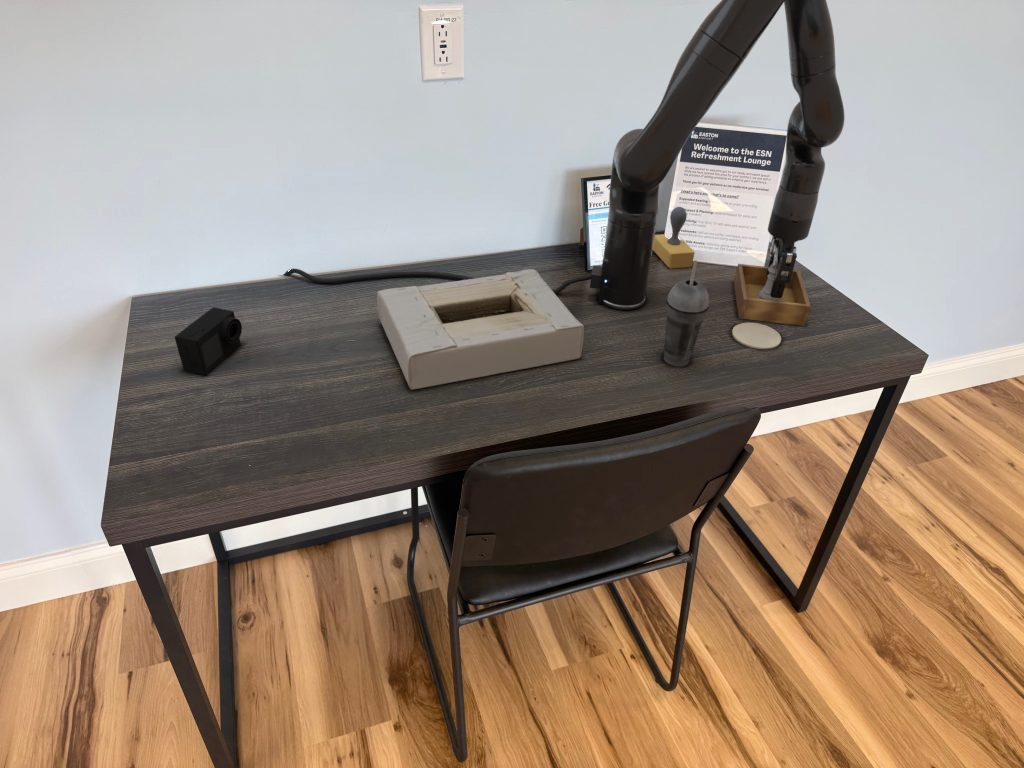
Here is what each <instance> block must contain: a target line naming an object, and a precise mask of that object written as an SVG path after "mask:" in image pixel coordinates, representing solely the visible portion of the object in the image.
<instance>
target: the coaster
mask: <svg viewBox="0 0 1024 768" xmlns="http://www.w3.org/2000/svg"><path fill="white" fill-rule="evenodd" d="M731 335H732V337H733V339H734V340H735V341H736V342H738V343H739V344H741V345H743V346H745V347H748V348H752V349H754V350H755V349H756V350H772V349H774V348H775V349H776V348H777V347H778V346H780V344H781V342H782V336H781V335H780V333H779V332H778V331H777V330H776V329H774V328H772V327H770V326H768V325H765V324H763V323H759V322H742V323H738V324H736V325H735V326H734V327H733V329H732V330H731Z"/></svg>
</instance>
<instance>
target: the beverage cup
mask: <svg viewBox="0 0 1024 768" xmlns="http://www.w3.org/2000/svg"><path fill="white" fill-rule="evenodd" d="M697 266H698V260H696V259H694V260H693V264H692V270H691V275H690V279H683V280H681V281H679V282H676V284H675V285H674V286H673V287H671V289H670V291H669V292H668V295H667V297H666V299H665V303H666V324H665V334H664V347H663V360H664V362H665V363H667V364H668V365H670V366H674V367H684V366H687V365H688V364H689V363H690V359H691V357H692V356H693V351H694V349H695V347H696V343H697V339H698V336H699V333H700V331H701V327H702V324H703V321H704V319H705V317H706V315H707V313H708V310H709V309H710V296H709V292H708V290H707V289H706V287H705V286H704V284H702V283H701V282H699V281H697V280H695V276H696V275H695V274H696V270H697Z"/></svg>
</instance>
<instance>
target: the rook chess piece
mask: <svg viewBox="0 0 1024 768" xmlns="http://www.w3.org/2000/svg"><path fill="white" fill-rule="evenodd" d="M778 264H779V263H778ZM768 271H769V275H767V276H768V279H767V282H766V284H765V286H764V287H763V288H762V290H761V291H760V292H759V296H758V299H765V300H774V301H780V300H779V299H780V298H772V297H771V295H770V293H771V289H772V285H773V282H774V276H775V269H774V268H773V264H772V265H771V266H770V267H769V268H768ZM784 273H785V271H782V273H781V275H782V274H784Z"/></svg>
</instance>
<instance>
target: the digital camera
mask: <svg viewBox="0 0 1024 768" xmlns="http://www.w3.org/2000/svg"><path fill="white" fill-rule="evenodd" d="M242 332H243V326H242V322H241V321H240V319H238V318H236V317H235V312H234V310H228V309H225V308H220V307H219V308H218V307H212V308H210V309H209V310H207V311H206V312H205V313H203V314H202V315H201V316H200V317H198V318H197V319H196V320H194V321H193V322H191V323H190V324H189V325H188V326H187V327H185V328H184V329H183V330H181V331H180V332H179V333H177V334H176V335H175V336H174V340H175V344H176V347H177V350H178V355H179V358H180V362H181V365H182V368H183V371H184V372H187V373H193V374H197V375H202V376H206V375H208V374H210V372H211V371H213V370H214V369H215V368H216V367H217V366H218V365H219V364H221V363H222V362H223V361H224V360H225V359H226V358H227V357H229V356H230V355H231V354H232V353H234V351H235V350H237V349H238V348H239V347H240V346H241V345H242V343H241V339H240V338H241V336H242Z"/></svg>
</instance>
